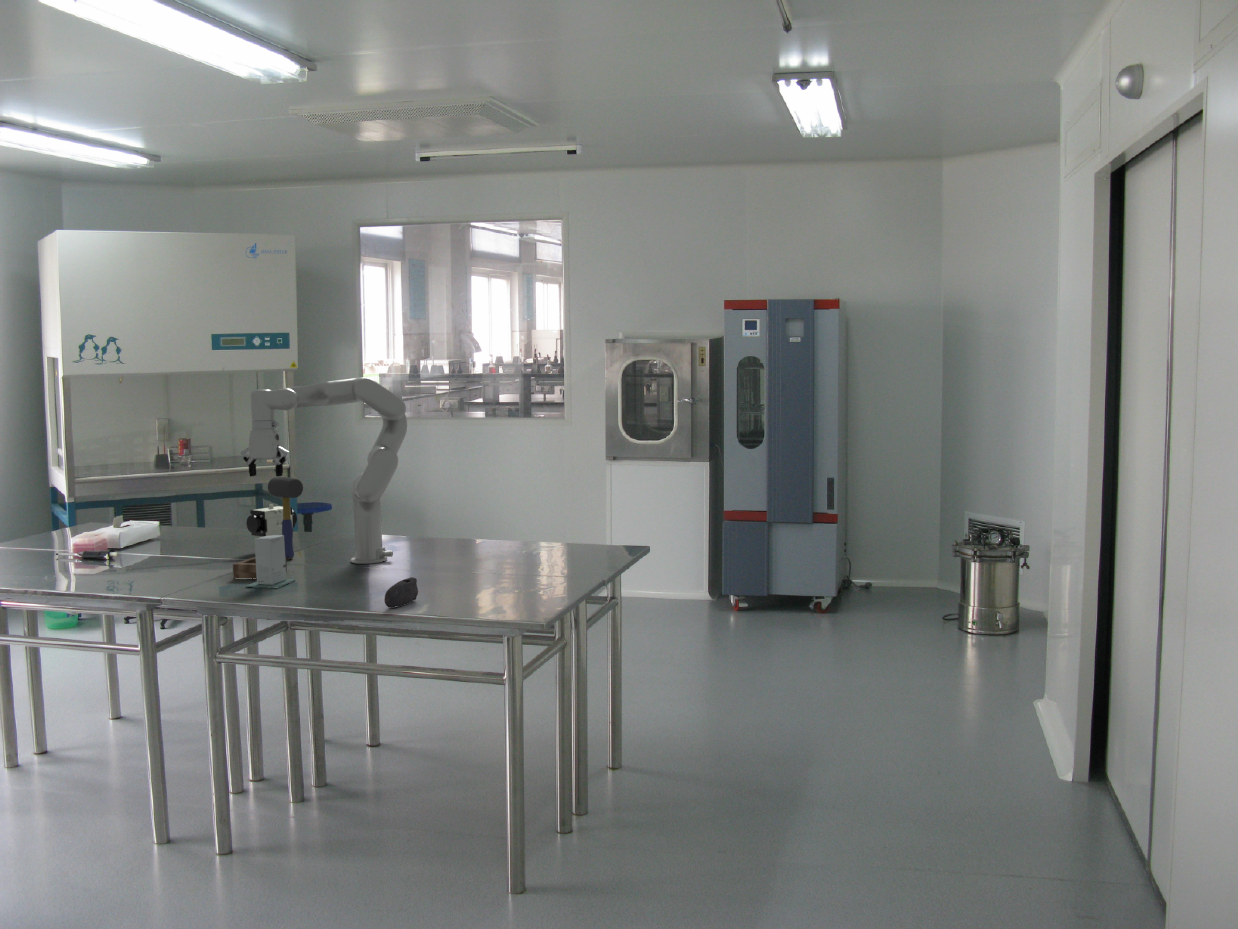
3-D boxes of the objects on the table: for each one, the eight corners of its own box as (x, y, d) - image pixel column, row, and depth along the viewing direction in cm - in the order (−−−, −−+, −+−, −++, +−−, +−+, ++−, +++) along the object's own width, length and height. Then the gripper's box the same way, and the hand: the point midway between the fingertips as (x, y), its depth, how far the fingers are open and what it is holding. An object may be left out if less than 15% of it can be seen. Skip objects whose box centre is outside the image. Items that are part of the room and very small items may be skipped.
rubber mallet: (308, 559, 359) (304, 476, 356) (290, 562, 353) (286, 478, 350) (286, 556, 366) (283, 475, 363) (269, 559, 360) (265, 477, 357)
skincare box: (272, 585, 312) (270, 538, 311) (255, 584, 313) (253, 538, 312) (287, 580, 320) (285, 534, 319) (270, 579, 322) (268, 534, 320)
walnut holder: (286, 571, 337) (286, 557, 336) (265, 580, 324) (265, 564, 323) (255, 571, 339) (254, 556, 338) (233, 579, 326) (232, 564, 325)
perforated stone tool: (393, 612, 278) (392, 587, 277) (377, 610, 280) (376, 586, 279) (423, 600, 292) (422, 577, 291) (408, 599, 294) (407, 576, 293)
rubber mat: (295, 581, 321) (295, 579, 321) (278, 588, 310) (277, 586, 310) (264, 580, 323) (263, 578, 323) (245, 587, 312) (245, 585, 312)
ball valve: (261, 555, 369) (259, 507, 367) (247, 553, 374) (245, 506, 372) (301, 547, 384) (299, 502, 382) (286, 545, 389) (284, 500, 387)
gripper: (292, 425, 339) (295, 475, 341) (246, 425, 342) (248, 474, 344) (281, 426, 332) (284, 477, 333) (234, 426, 335) (236, 477, 336)
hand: (266, 476), depth 338 cm, fingers open, 9 cm apart
